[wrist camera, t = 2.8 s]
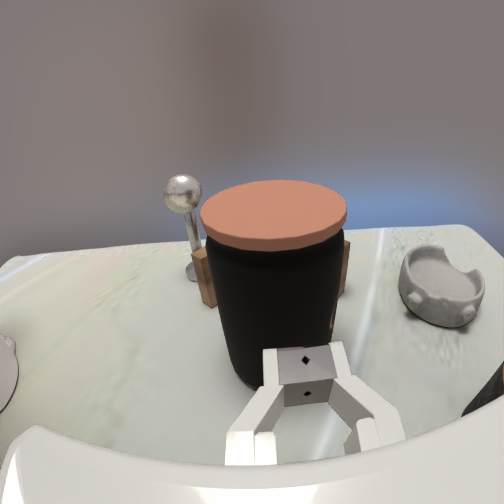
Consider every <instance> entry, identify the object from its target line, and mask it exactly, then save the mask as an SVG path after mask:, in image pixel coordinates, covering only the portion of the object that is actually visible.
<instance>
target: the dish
mask: <svg viewBox="0 0 504 504" xmlns="http://www.w3.org/2000/svg"><path fill="white" fill-rule="evenodd" d="M399 289H400V293H401V296H402V298H403V300H404V302H405V304H406V305H407V306H408V308H409V309H410V310H411V311H412V312H413V313H414V314H416V315H417V316H418V317H420V318H422V319H423V320H425V321H428V322H430V323H433V324H436V325H439V326H444V327H459V326H462V325H464V324H466V323H468V322H470V321H472V320H473V318H474V317H475V315H476V311H477V309H478V307H479V305H480V303H481V301H482V298H483V295H484V291H485V281H484V278H483V276H482V274H481V272H480V271H479V270H478V269H475V270H473V271H471V272H468V273H463V272H460V271H458V270H457V269H455V268H454V267H453V266H452V265H451V264H450V262H449V260H448V258H447V256H446V254H445V252H444V248H442V247H440V246H437V245H429V244H422V245H420V246H417V247H414V248H413V249H411V250H410V251H408V253H407V254H406V256H405V258H404V260H403V263H402V266H401V271H400V277H399Z"/></svg>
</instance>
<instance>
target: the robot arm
mask: <svg viewBox="0 0 504 504" xmlns="http://www.w3.org/2000/svg"><path fill="white" fill-rule="evenodd" d="M14 351H15V342H14V341H13V340H12V339H11V338H3V337H2V336H1V335H0V411H1V410H2V409H3V408H4V406H5V405H6V404H7V402H8V401H9V399H10V397H11V395H12V393H13V391H14V388H15V385H16V381H17V376H18V363H17V359H16V357H15V354H14ZM263 374H264V386H260V387H259V389H258V390H257V391H256V393H255V394H254V396H253V397H252V399H251V400H250V401H249V403H248V404H247V405H246V407H245V408H244V410H243V411H242V412H241V414H240V415H239V416H238V418H237V419H236V420H235V422H234V423H233V424H232V426H231V427H230V428H229V430H228V431H227V437H226V455H225V465H210V464H196V463H185V462H177V461H169V460H162V459H155V458H149V457H144V456H139V455H134V454H129V453H125V452H120V451H116V450H112V449H108V448H104V447H101V446H97V445H94V444H90V443H87V442H84V441H81V440H78V439H75V438H72V437H69V436H66V435H63V434H61V433H58V432H56V431H53V430H51V429H48V428H46V427H43V426H40V425H34V426H32V427H30V428H28V429H27V430H25V431H24V432H23V433H21V434H20V435H19V436H17V437H16V438H15V439H14V440H13V441H12V443H11V445H10V446H9V448H8V450H7V453H6V456H5V458H4V461H3V464H2V467H1V470H0V504H504V395H502V396H500V397H499V398H497V399H495V400H493V401H492V402H490V403H488V404H486V405H485V406H483V407H481V408H479V409H477V410H475V411H473V412H471V413H469V414H467V415H465V416H463V417H461V418H459V419H457V420H454V421H452V422H450V423H448V424H445V425H443V426H440V427H438V428H436V429H433V430H431V431H428V432H425V433H423V434H420V435H417V436H414V437H411V438H408V439H406V438H405V434H404V431H403V427H402V424H401V420H400V417H399V414H398V410H397V409H396V408H395V407H394V406H392V405H391V404H390V403H389V402H387V401H386V400H385V399H384V398H383V397H381V396H380V395H379V394H378V393H377V392H375V391H374V390H373V389H372V388H371V387H369V386H368V385H367V384H366V383H365V382H363V381H362V380H361V379H360V378H359V377H357V376H356V375H353V376H352V373H351V370H350V366H349V363H348V359H347V356H346V352H345V349H344V345H343V343H342V342H341V341H338V342H331V343H322V344H315V345H307V346H303V347H290V348H275V349H263ZM322 402H328V404H329V405H330V406H331V407H332V408H333V410H334V411H335V412H336V413H337V414H338V415H339V416H340V417H341V418H342V419H343V421H344V422H345V423H346V424H347V425H348V426H349V427H350V428H351V429H352V431H351V433H350V435H349V436H348V438H347V439H346V441H345V443H344V449H345V455H344V456H338V457H333V458H327V459H320V460H313V461H306V462H297V463H286V464H278V461H277V448H276V437H275V434H274V433H272V432H271V431H272V429H273V427H274V426H275V424H276V422H277V421H278V419H279V417H280V415H281V414H282V412H283V410H284V408H285V407H289V406H297V405H304V404H313V403H322Z"/></svg>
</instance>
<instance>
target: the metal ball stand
mask: <svg viewBox="0 0 504 504" xmlns="http://www.w3.org/2000/svg"><path fill="white" fill-rule="evenodd" d="M201 196H202V189H201V186H200V184H199V183H198V181H197V180H196V179H195V178H194V177H192V176H190V175H186V174H180V175H176V176H174V177H173V178H172V179H170V181H169V182H168V183H167V184H166V186H165V187H164V190H163V199H164V202H165V204H166V205H167V207H168V208H169V209H171V210H172V211H174V212H177V213H184V217H185V221H186V226H187V231H188V235H189V240H190V244H191V249H192V253H194V252H195V251H197V250H199V249H201V248H202V245H201V240H200V235H199V230H198V225H197V220H196V215H195V210H194V209H195V208H196V207H197V205H198V203H199V201H200V199H201ZM186 273H187V277H188V279H189V280H191V281H193V282H198V281H197V277H196V273H195V269H194V265H193V262H191V263H190V264H189V265H188V266H187V267H186Z"/></svg>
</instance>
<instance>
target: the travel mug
mask: <svg viewBox="0 0 504 504" xmlns="http://www.w3.org/2000/svg"><path fill="white" fill-rule="evenodd" d="M502 395H504V361H503V363H502V364H501V365H500V367H499V368H498V370H497V371H496V372H495V373H494V375H493V376H492V377H491V379H490V380H489V381H488V382H487V384H486V385H485V386H484V387H483V388H482V390H481V391H480V392H479V393H478V394H477V396H476V397H475V398H474V399H473V400H472V401H471V402H470V404H469V405H468V406H467V407H466V409H465V410H464V412H463V414H462V416H461V417H463V416H465V415H467V414H469V413H471V412H473V411H475V410H477V409H479V408H481V407H483V406H485V405H486V404H488V403H490V402H492V401H493V400H495V399H497V398H499V397H500V396H502Z"/></svg>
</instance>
